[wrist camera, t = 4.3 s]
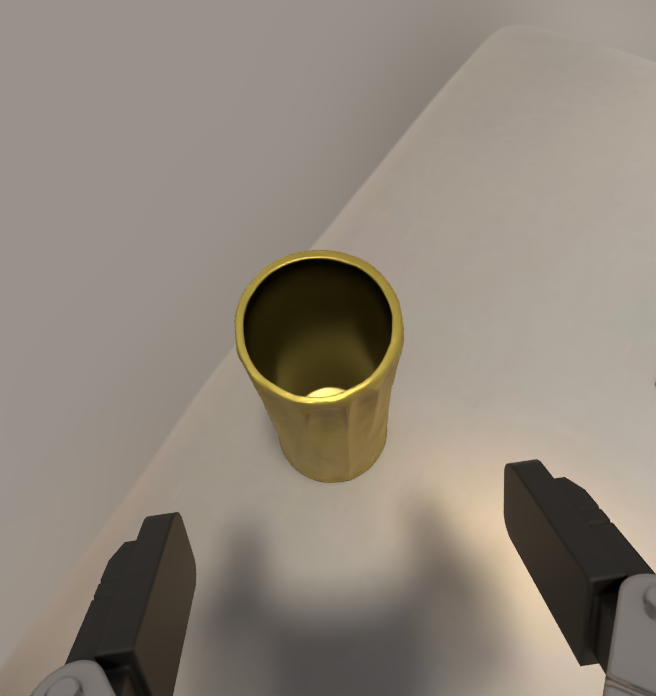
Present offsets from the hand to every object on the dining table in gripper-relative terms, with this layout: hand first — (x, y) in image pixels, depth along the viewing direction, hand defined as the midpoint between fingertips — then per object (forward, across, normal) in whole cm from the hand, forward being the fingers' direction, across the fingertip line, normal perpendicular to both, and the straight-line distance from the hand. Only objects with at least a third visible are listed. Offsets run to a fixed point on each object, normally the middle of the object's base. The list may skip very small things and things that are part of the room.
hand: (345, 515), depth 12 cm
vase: (+15, 0, +7) cm, 16 cm away
